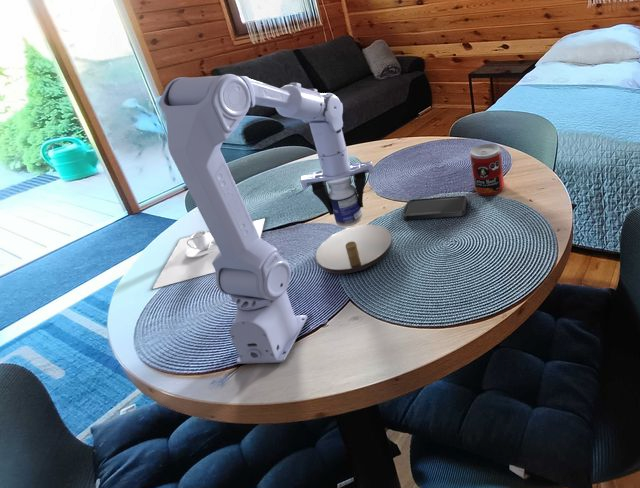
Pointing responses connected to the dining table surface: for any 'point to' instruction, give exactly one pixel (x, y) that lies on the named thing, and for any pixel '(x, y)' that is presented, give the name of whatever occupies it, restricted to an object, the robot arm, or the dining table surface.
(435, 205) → the phone
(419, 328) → the dining table surface
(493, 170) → the canned food
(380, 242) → the tray
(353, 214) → the pill bottle
